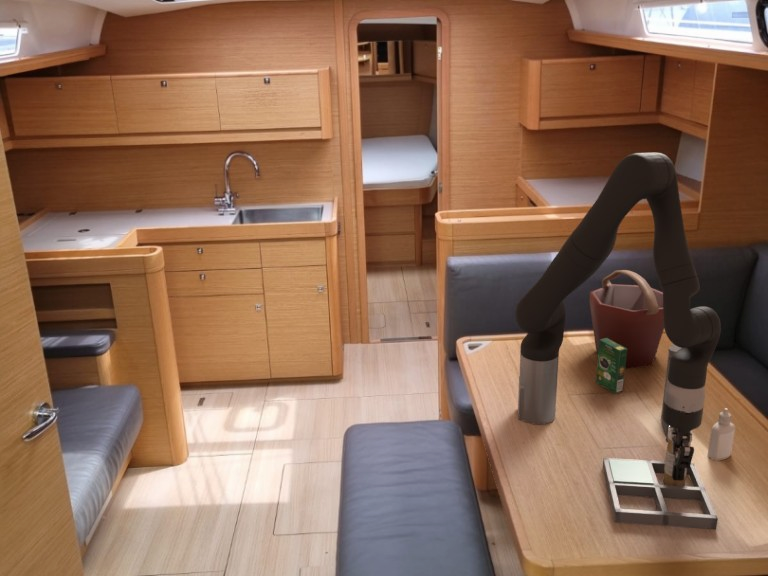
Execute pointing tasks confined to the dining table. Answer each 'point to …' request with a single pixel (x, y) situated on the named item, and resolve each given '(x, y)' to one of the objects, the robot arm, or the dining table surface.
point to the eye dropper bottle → (721, 437)
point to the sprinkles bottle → (671, 464)
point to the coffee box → (611, 365)
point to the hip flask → (671, 350)
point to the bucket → (628, 317)
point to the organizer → (655, 494)
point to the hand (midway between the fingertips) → (675, 472)
